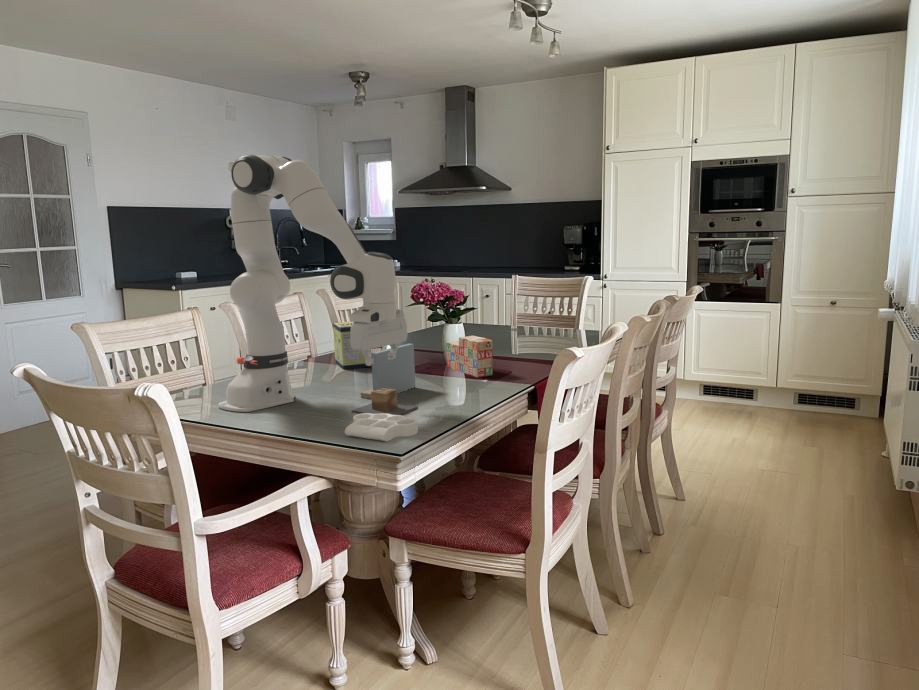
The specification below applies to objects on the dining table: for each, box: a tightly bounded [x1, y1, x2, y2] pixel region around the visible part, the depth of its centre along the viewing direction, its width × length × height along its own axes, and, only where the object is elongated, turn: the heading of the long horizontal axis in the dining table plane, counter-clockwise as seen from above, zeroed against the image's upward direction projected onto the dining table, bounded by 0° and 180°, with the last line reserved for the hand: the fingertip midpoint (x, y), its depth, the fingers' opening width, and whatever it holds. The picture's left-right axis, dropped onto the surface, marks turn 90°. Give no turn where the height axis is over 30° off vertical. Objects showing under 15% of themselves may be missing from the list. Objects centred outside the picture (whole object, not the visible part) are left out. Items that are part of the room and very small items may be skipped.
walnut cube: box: [371, 388, 398, 411], centre depth 187 cm, size 5×5×5 cm
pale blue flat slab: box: [360, 343, 416, 400], centre depth 207 cm, size 18×7×14 cm, turn 147°
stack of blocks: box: [445, 335, 494, 378], centre depth 235 cm, size 21×6×12 cm, turn 30°
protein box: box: [332, 321, 371, 370], centre depth 252 cm, size 10×16×16 cm
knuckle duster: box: [344, 413, 419, 442], centre depth 168 cm, size 3×18×15 cm
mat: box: [351, 402, 419, 416], centre depth 187 cm, size 12×14×1 cm
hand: (381, 362), depth 185 cm, fingers open, 8 cm apart
